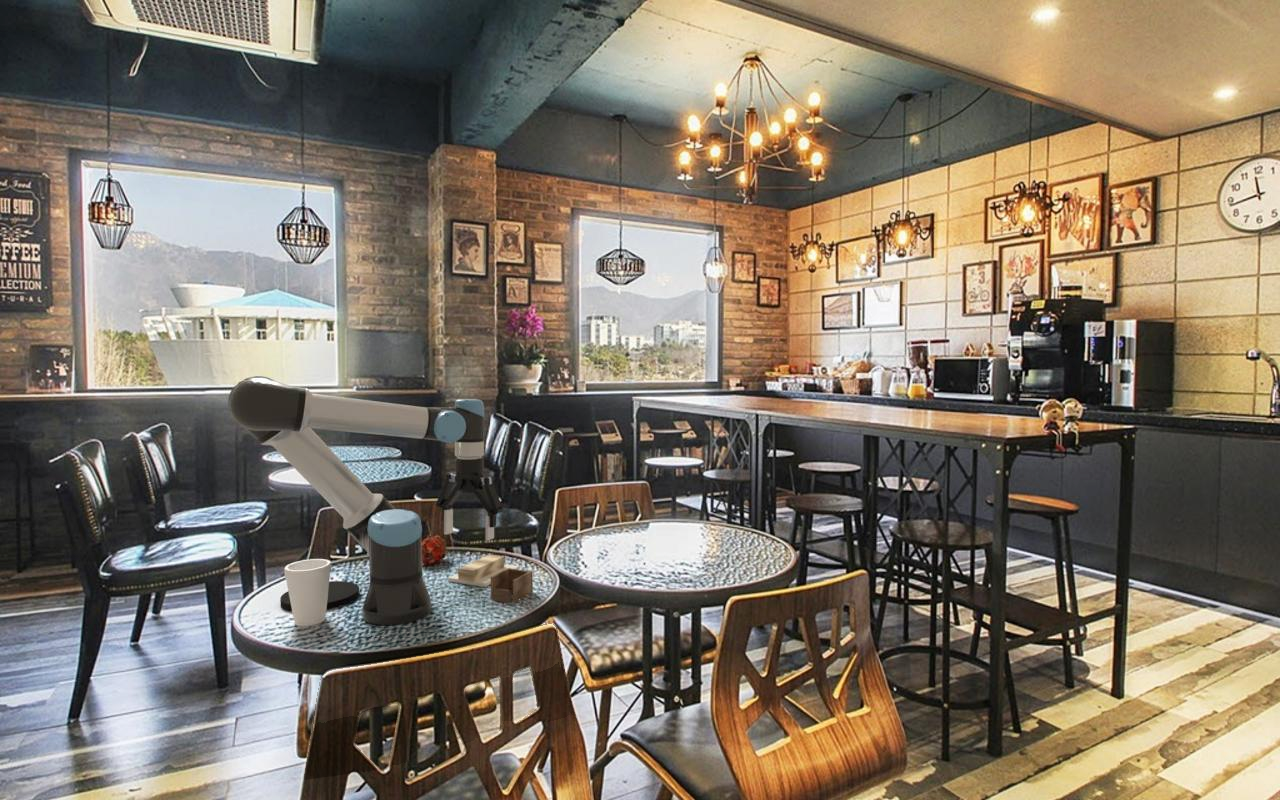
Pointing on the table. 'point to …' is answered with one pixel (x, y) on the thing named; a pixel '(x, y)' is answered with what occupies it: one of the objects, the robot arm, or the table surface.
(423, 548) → the dragon fruit
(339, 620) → the table surface
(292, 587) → the foam cup
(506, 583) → the box
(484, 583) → the cream pad
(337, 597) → the wireless charger
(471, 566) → the maple bar
